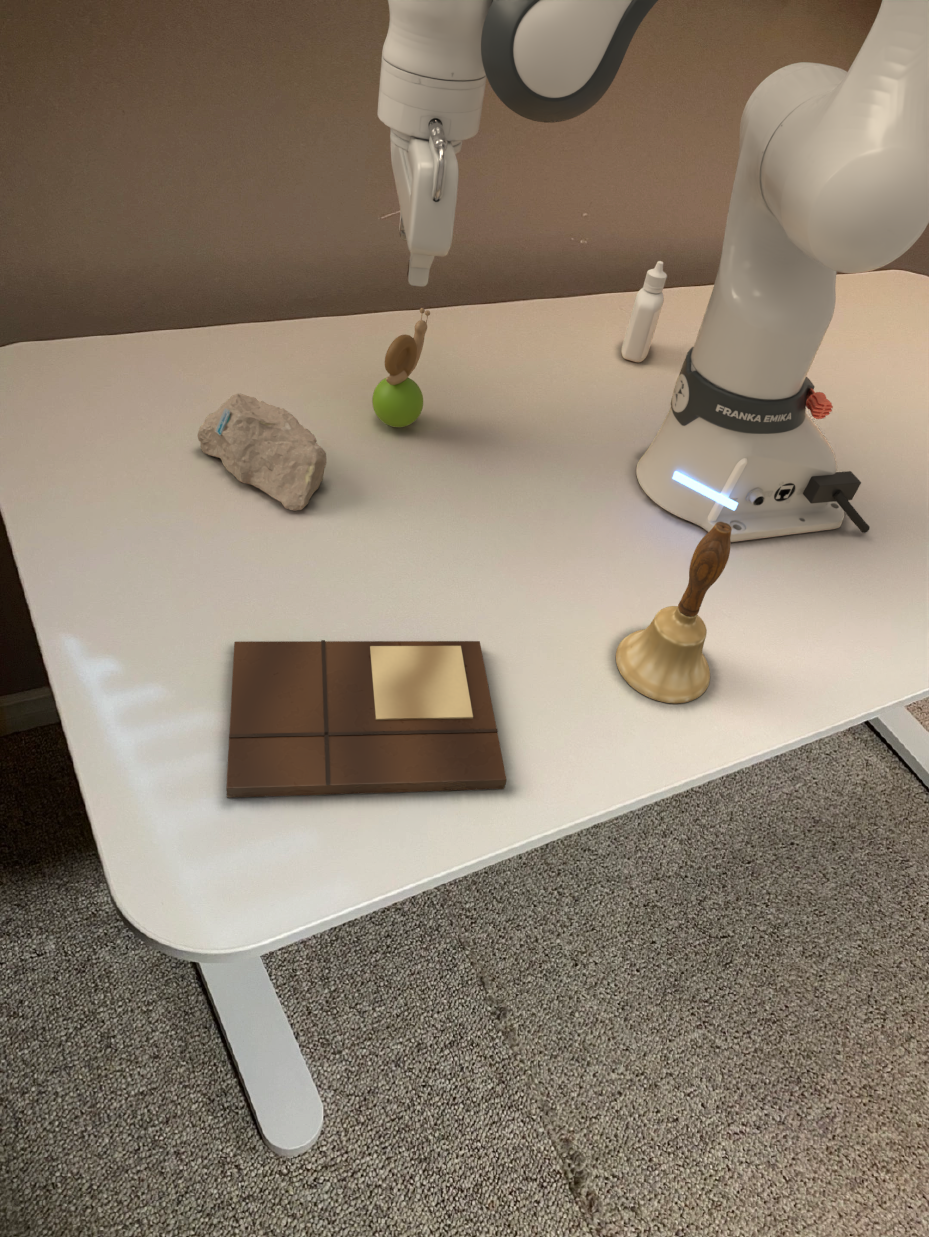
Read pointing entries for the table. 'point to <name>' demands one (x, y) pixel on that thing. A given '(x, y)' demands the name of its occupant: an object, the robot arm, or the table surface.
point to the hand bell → (677, 633)
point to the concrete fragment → (265, 449)
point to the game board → (360, 718)
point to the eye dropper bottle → (644, 315)
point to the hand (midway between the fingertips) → (412, 259)
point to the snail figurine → (401, 380)
